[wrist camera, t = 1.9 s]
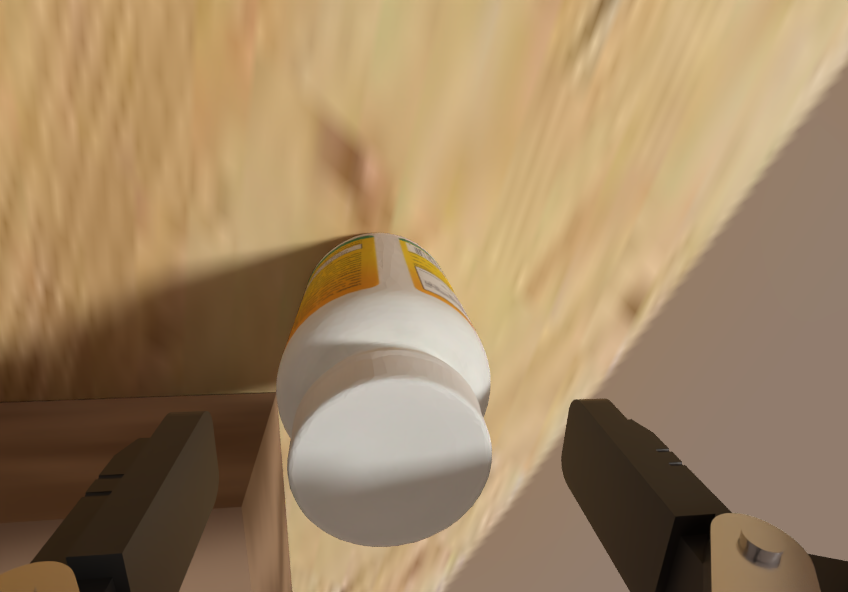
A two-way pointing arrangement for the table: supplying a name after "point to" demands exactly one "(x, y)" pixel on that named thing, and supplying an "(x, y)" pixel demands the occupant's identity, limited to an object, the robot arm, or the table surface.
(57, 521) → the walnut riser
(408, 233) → the table surface
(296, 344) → the supplement bottle
